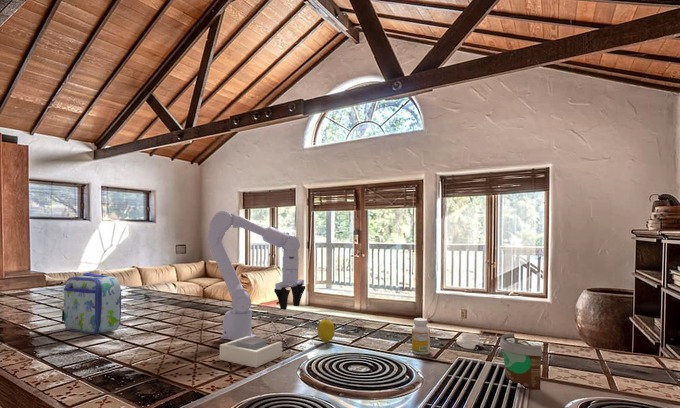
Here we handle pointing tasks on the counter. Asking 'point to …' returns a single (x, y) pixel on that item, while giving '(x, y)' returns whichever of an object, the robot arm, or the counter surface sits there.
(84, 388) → the counter surface
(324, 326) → the lemon
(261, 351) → the tray
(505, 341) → the food container
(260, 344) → the light grey cube
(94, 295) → the lunch box
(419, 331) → the supplement bottle
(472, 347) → the whipped cream
